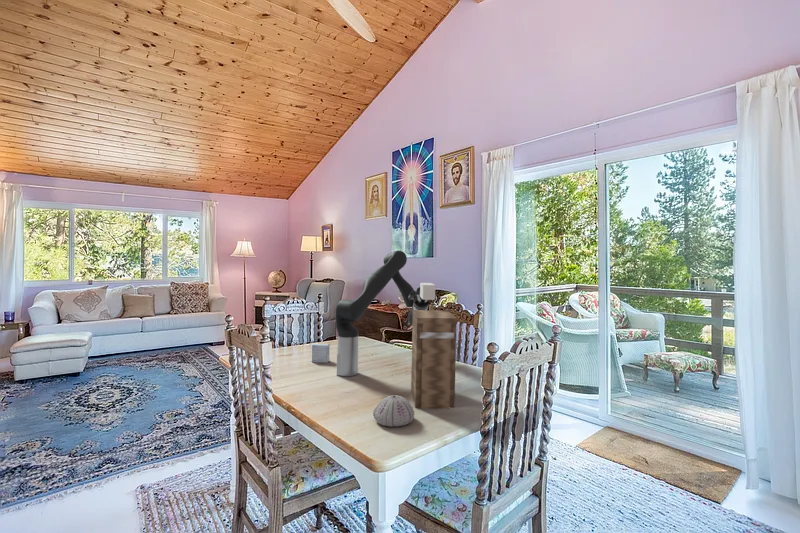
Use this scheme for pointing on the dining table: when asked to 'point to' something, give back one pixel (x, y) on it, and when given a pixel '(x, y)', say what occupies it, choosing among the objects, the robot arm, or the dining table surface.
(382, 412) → the sea urchin shell
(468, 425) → the dining table surface
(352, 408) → the dining table surface
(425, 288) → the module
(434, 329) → the shelf unit
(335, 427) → the dining table surface
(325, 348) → the medicine box
